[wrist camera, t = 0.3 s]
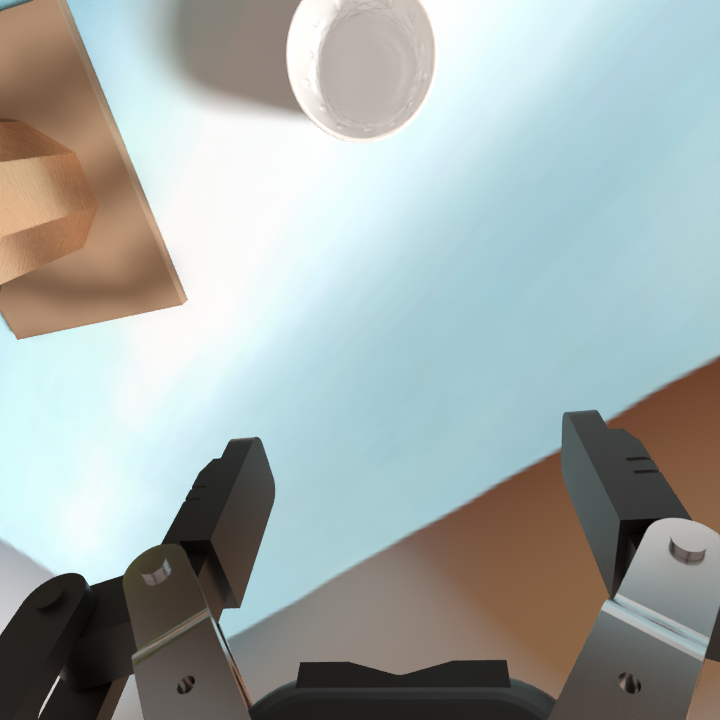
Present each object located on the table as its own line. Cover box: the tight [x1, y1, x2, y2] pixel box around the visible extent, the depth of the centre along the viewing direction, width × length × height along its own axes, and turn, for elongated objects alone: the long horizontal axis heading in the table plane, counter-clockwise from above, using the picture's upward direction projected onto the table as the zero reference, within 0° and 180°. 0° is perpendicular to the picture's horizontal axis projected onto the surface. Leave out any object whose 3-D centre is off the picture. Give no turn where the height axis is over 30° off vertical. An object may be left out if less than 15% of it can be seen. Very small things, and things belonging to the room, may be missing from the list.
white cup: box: [286, 0, 438, 143], centre depth 30 cm, size 8×8×10 cm
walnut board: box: [0, 0, 187, 340], centre depth 39 cm, size 22×16×1 cm
